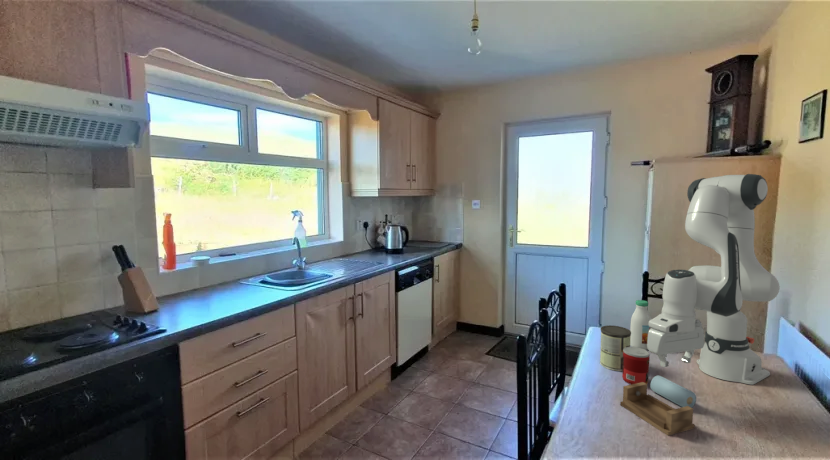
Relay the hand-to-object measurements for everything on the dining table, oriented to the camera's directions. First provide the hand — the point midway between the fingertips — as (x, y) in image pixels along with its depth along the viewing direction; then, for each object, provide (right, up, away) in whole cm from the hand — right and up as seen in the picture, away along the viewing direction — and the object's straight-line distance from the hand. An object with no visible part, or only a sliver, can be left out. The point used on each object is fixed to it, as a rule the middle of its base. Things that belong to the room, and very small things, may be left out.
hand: (675, 364), depth 120 cm
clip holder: (-11, -13, -7) cm, 18 cm away
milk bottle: (+14, -8, +42) cm, 45 cm away
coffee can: (-6, -10, +26) cm, 28 cm away
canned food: (-5, -11, +13) cm, 18 cm away
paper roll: (+1, -12, +1) cm, 12 cm away
